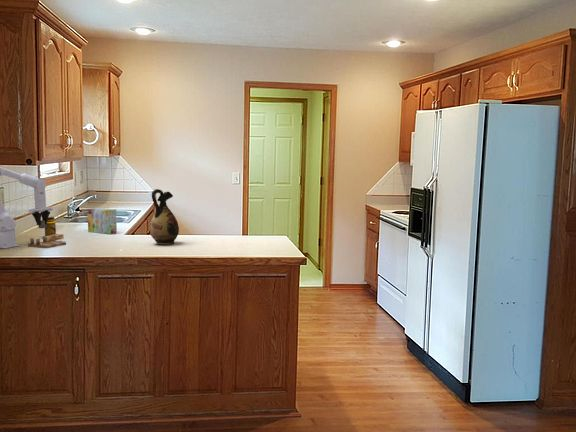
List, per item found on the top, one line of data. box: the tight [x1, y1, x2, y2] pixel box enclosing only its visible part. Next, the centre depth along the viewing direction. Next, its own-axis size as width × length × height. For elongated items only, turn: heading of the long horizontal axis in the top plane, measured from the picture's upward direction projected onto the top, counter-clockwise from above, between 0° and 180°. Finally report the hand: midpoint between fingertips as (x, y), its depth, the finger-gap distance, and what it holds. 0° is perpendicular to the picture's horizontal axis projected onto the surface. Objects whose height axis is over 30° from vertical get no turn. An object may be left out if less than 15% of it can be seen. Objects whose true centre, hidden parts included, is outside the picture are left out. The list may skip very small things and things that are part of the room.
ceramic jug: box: [149, 188, 180, 246], centre depth 309 cm, size 17×15×30 cm
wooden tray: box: [27, 235, 67, 249], centre depth 308 cm, size 13×14×4 cm
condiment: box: [40, 216, 57, 240], centre depth 336 cm, size 7×8×12 cm
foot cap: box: [37, 219, 45, 229], centre depth 316 cm, size 3×3×4 cm
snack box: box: [86, 207, 118, 235], centre depth 354 cm, size 21×6×15 cm, turn 58°
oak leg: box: [44, 233, 65, 242], centre depth 317 cm, size 10×5×2 cm, turn 156°
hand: (41, 224), depth 316 cm, fingers closed on foot cap, 3 cm apart
